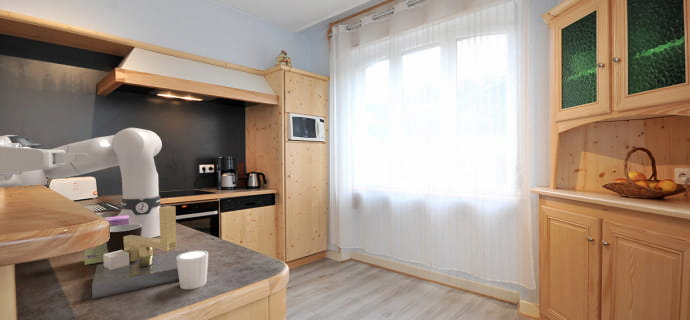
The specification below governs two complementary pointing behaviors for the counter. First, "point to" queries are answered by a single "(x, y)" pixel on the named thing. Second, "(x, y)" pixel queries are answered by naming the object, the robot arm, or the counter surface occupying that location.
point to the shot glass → (192, 269)
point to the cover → (116, 259)
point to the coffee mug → (119, 232)
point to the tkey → (147, 244)
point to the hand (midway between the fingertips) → (86, 157)
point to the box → (97, 253)
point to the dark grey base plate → (135, 275)
